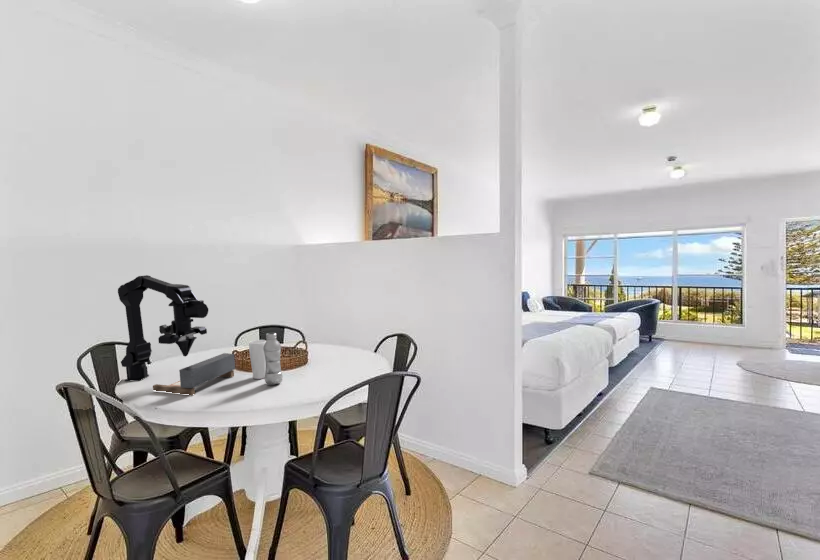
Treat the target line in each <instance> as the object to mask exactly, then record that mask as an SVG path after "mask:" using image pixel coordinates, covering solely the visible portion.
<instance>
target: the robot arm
mask: <svg viewBox="0 0 820 560" xmlns="http://www.w3.org/2000/svg"><path fill="white" fill-rule="evenodd" d="M148 289H149V290H153V291H155V292H158V293H161V294H162V295H163V294H164V295H165V297H166V298H167V299H169V300H171V302H169V304H168V307H173V308H172V312H173V320H171V324H170V325H167V324H161V325H160V326H159V327H158V328H159V333H160V334H161V335H159V337H158V338H157V339H158V344H162V345H163V344H164V345H172V344H176V346H178V348H179V349H180V352H181V354H182V356H183V357H187V356H188V355H189V353H190V350H191V348H192V346H193V344H194V342H195V340H196V339H197V337H196V336H194V335H197V334H200V335H201V336H202V335H205V334H206V335H207V333H208V330H207V327H206V326H192V322H194V319H193V318H195V319H204V318H206V317H207V316H208V313H209V308H208V305H207V304H205V303H204V300H202V299H201V300H199V299H198V298H197V296H196V295H195V293H194V292H193V291H192V289H191V286H190V285H188V284H177V283H170V282H167V281H164V280H161V279H159V278H156V277H152V276H151V275H147V274H146V275H138V276H136V277H135V278H134V279H132V280H130V281H128V282H126V283H124V284H121V285H120V286H119V287H118V288H117V294H118V299H119V301H120V302H121V303H122V304H123V306H124V307H125V314H126V324H127V332H128V338H129V342H128V344H127V345H126V348H125V355H124V357H123V358H122V359H121V361H120V364H121V367H122V368H123V367H124V368H126V369H125V370H126V371H125V372H126V378H125V379H124V382H131V381H130V380H138V381H142V380H144V379H145V377H146V378H148V377H149V376H150V374H149V372H148V366H147V363H149V362H150V357H151V355H152V352H153V350H152V347H151V346H152V344H151V342H149V341H148V342H147V340H146V339H145V337H144V327H143V320H142V312H141V303H142V301H143V299H144V292H146V291H147V290H148ZM147 376H148V377H147ZM143 378H144V379H143ZM141 379H142V380H141Z"/></svg>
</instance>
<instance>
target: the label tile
mask: <svg viewBox="0 0 820 560" xmlns="http://www.w3.org/2000/svg"><path fill="white" fill-rule="evenodd" d="M169 385H170V386H181V384H180V380H179V381H178V380H177V381H175V382H173V383H171V384H169Z"/></svg>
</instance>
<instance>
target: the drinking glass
mask: <svg viewBox="0 0 820 560" xmlns="http://www.w3.org/2000/svg"><path fill="white" fill-rule="evenodd" d="M266 341H267V339H266V340H265V339H255V340H251V341H249V342H248V349H249V357H250V365H251V371H252V372H251V373H252V378H253V379H254V380H261V379H262V380H263V379H265V369H266V363H265V362H266V361H265V355H264V350H263V347H264V344H265V342H266Z"/></svg>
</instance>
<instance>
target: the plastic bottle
mask: <svg viewBox="0 0 820 560" xmlns="http://www.w3.org/2000/svg"><path fill="white" fill-rule="evenodd" d="M265 339H266V342H265V344H264V347H263V350H264V355H265V361H266V362H265V363H266V369H265V378H264V383H265V384H266V385H268V386H273V385H274V386H275V385H278V384H280V383H282V381H283V372H282V368H281V352H282V351H281V350H282V345H281V343H280V341H278V339H277V333H276V332H267V333H265Z"/></svg>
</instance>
